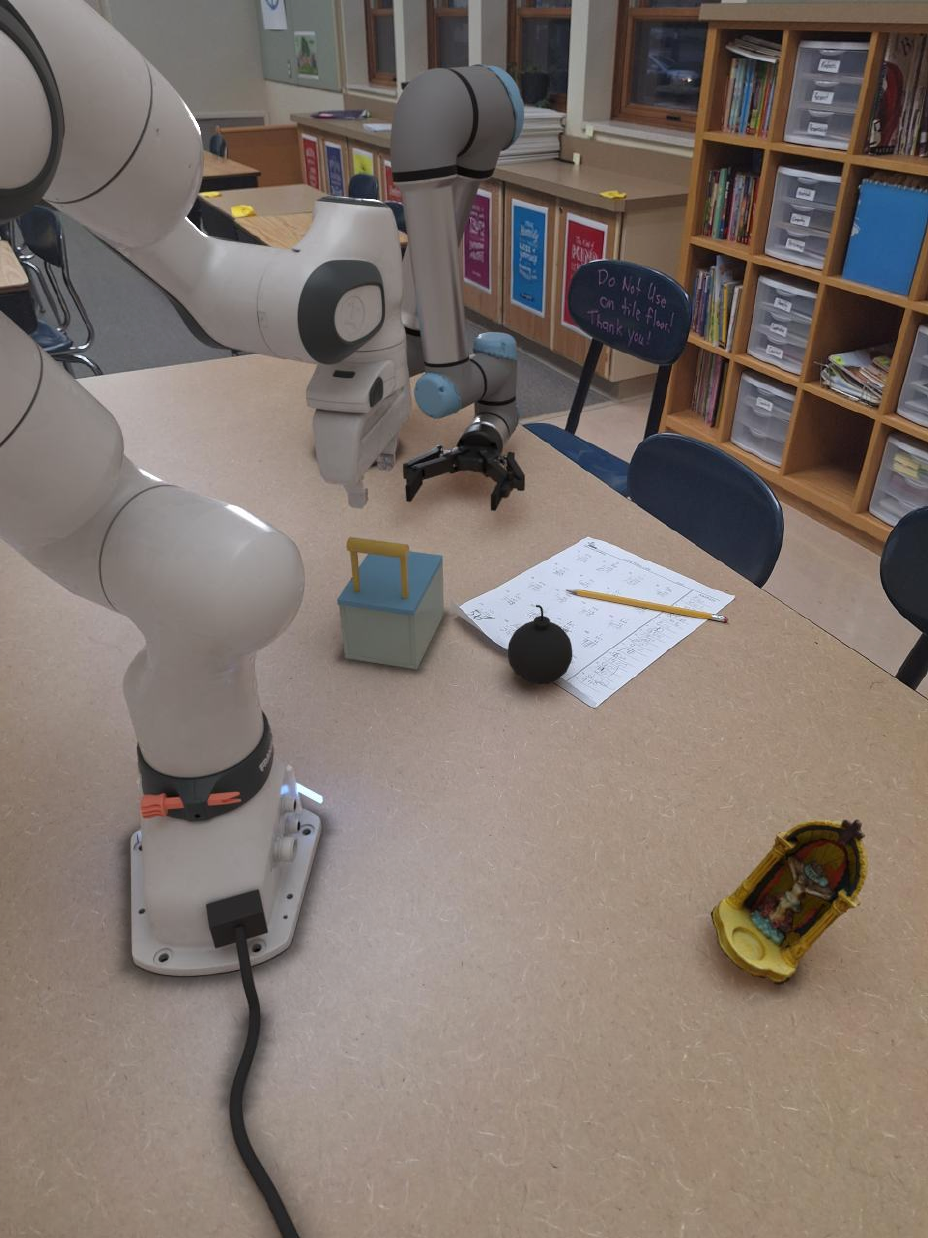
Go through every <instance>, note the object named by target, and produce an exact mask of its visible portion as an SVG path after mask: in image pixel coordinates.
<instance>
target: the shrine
mask: <svg viewBox="0 0 928 1238" xmlns="http://www.w3.org/2000/svg"><path fill="white" fill-rule="evenodd" d="M862 827H863V823H862V822H861V821H860V820H859V819H857V818H856V819H854V821H853V822H851V821H850V820H848V819H843V820H842V821H841V820H837V819H836V820H835V819H834V820H833V819H827V818H826V819H821V818H820V819H819V818H818V819H810V820H807V821H804V822H801V823H798V824H796V825H795V826H793V827H792V828H790V829H789V830H787V831H783V830H782V831H779V832H778V833H777V834H776V837H775V838H774V842H775V843H774V844H773V845H771V847H772V848H771V849H770V851H769V852H767V853H766V855H765V856H764V858H762V859H761V861H760V862H759V863H758V864H757V866H756V867H755V868H754V869H753V870H752V871H751V872H750V874H749V875H748V876H747V877H746V878H744V879H743V881H742V882H741V884H740V885H739V886H738V887H736V889H735V891H733V892H732V893H730V895H728V896H727V897H725V898H724V899H722V900H721V901H719V903H718V905H716V906H714V908H713V909H712V911H710V918H711V922H712V924H713V927H714V930H715V934H716V935H715V936H716V938H717V941H716V942H717V944H718V946H719V948H720V949H721V951H722V952H723V953H724V955H725V957H727V958H728V959H729V960H730V962H731V963H733V965H735V966H736V967H737V968H738V969H739V970H741V971H744V972H746V973H747V974H749V975H750V976H751V977H754V978H760V979H767V980H770V981H772V983H773V985H775V986H783V985H784V984H785V983H788V982H789V981H790V980H791V976H792V975H794V973H796V972H797V968H798V964H799V962H800V960H801V959H803V958H804V956H805V955H806V953H807V952H809V951H810V950H811V949H812V947H813V945H814V943H816V941H817V940H818V939H819V938H820V937H821V936H822V935H823V934H824V932H825V931H827V929H828V928H830V926H832V925H834V922H836V921H837V919H839V918H840V917H841V916H842V915H844V914H845V913H847V912H848V910H849V909H856V908H857V907H858V906H860V905H861V900H860V898H859V897H858V896H859V894H860V893H861V890H862V889H863V887H864V885H865V882H866V880H867V875H868V855H867V851H866V847H865V843H864V840H863V839H864V838H865V837H866V834H865V833H863V831H862Z"/></svg>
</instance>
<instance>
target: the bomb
mask: <svg viewBox="0 0 928 1238" xmlns="http://www.w3.org/2000/svg"><path fill="white" fill-rule="evenodd" d="M535 607H536V608H539V609H540V615H538V616H535V617H534V618H533V620H531V621H529V622H525V623H524V624H522V625H521V626H520V627H518V628H516V630H515V631H514V632H513V634H512V636H511V638H510V640H509V642H508V645H507V658H508V663H509V666H510V668H511V670H512V671H513V672H514V674H515V675H516V676H517V677H519V678H520V679H521V680H523V681H524V682H526V683H529V684H531V685H538V686H543V685H550V684H552V683H554V682H556V681H558V680H560V679H561V678H562V677H563V676H564V675H566V673H567V672H568V669H569V667H570V665H571V663H572V660H573V647H572V642H571V638H570V637H569V636H568V634H567V632H566V631H565V630H564V629H563V628H562V627H561V626H560V625H558V624H556V623H555V622H553V621H551V619H550V618H549V617H548V616H544V608H543V606H541V605H540V604H535Z"/></svg>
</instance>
